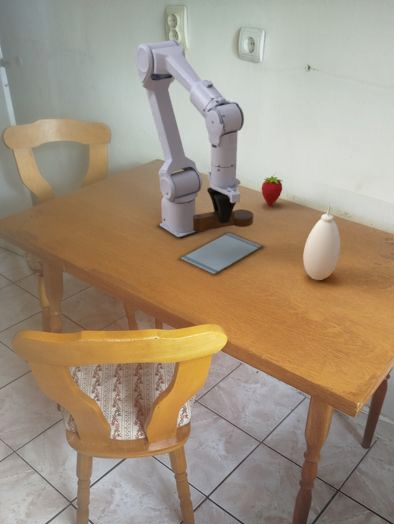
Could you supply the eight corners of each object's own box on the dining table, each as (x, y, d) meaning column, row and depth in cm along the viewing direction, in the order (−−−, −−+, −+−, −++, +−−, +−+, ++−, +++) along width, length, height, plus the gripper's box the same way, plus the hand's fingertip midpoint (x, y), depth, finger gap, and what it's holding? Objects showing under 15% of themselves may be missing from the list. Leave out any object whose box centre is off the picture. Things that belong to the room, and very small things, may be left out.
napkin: (181, 258, 124) (181, 257, 124) (228, 233, 134) (228, 232, 134) (214, 274, 119) (214, 273, 118) (261, 247, 129) (261, 245, 128)
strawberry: (281, 201, 150) (284, 167, 144) (279, 212, 144) (283, 177, 138) (261, 200, 151) (263, 166, 145) (259, 210, 145) (261, 176, 139)
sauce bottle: (327, 290, 113) (341, 215, 101) (295, 281, 116) (305, 206, 104) (339, 274, 118) (353, 201, 106) (308, 266, 121) (318, 193, 109)
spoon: (197, 235, 118) (197, 222, 116) (189, 225, 122) (189, 212, 120) (256, 224, 122) (257, 211, 120) (247, 215, 126) (248, 202, 124)
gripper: (253, 171, 108) (250, 229, 117) (227, 150, 118) (226, 205, 127) (223, 176, 106) (222, 235, 115) (199, 154, 117) (199, 210, 125)
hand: (222, 219), depth 121 cm, fingers closed on spoon, 2 cm apart
